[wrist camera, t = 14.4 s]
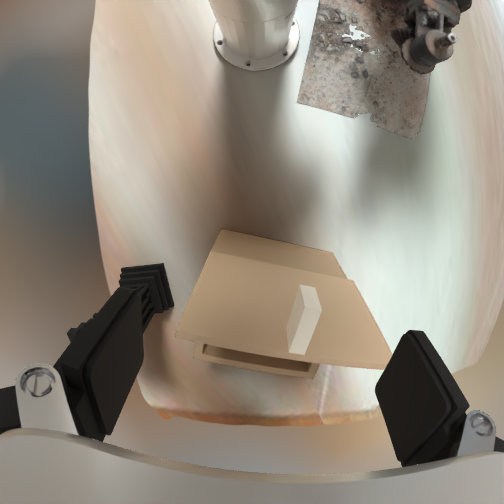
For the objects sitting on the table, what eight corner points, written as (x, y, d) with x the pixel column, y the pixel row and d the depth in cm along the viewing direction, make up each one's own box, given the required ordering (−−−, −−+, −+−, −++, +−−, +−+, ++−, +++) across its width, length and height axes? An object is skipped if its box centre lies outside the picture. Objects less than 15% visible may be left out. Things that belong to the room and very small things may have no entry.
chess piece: (163, 263, 49) (113, 331, 31) (174, 304, 52) (136, 382, 33) (122, 267, 50) (63, 330, 31) (134, 307, 53) (87, 378, 34)
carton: (221, 228, 47) (208, 256, 36) (332, 252, 48) (351, 286, 36) (206, 314, 53) (192, 358, 41) (304, 333, 53) (313, 378, 42)
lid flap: (209, 255, 35) (216, 218, 34) (351, 284, 36) (363, 250, 34) (175, 336, 21) (180, 281, 19) (394, 370, 22) (419, 325, 20)
